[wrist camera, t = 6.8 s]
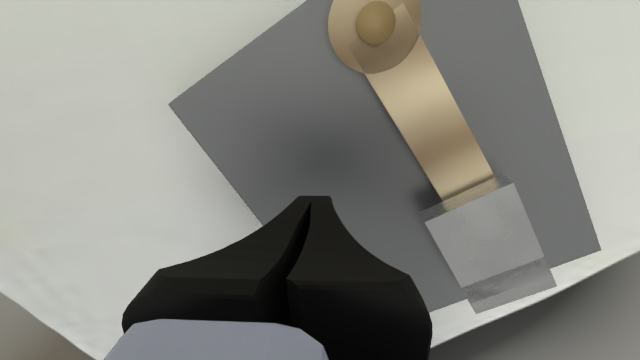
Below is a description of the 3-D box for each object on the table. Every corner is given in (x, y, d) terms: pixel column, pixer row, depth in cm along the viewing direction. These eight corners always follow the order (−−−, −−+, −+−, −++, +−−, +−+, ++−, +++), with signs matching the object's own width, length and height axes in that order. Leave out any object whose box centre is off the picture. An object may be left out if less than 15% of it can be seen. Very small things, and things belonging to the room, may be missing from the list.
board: (352, 328, 28) (353, 339, 26) (177, 101, 20) (167, 104, 19) (588, 240, 22) (601, 250, 21) (465, -113, 15) (475, -126, 14)
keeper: (411, 194, 20) (424, 222, 17) (484, 159, 19) (513, 182, 16) (456, 275, 23) (476, 313, 20) (524, 249, 21) (557, 286, 18)
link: (312, 15, 16) (307, 10, 14) (387, -46, 15) (394, -63, 13) (448, 230, 21) (460, 252, 19) (513, 198, 20) (535, 217, 17)
